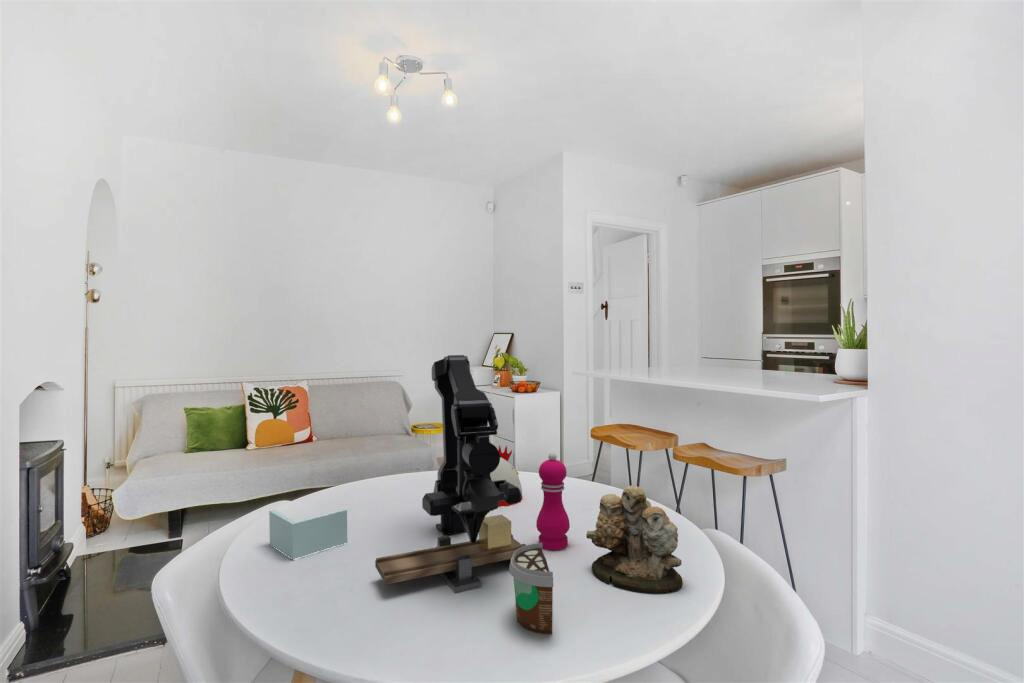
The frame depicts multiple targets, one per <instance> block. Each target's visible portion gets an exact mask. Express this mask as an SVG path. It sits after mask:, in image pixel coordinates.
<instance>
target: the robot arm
mask: <svg viewBox="0 0 1024 683" xmlns="http://www.w3.org/2000/svg"><path fill="white" fill-rule="evenodd" d="M470 364H471V363H470V360H469V358H468V356H467V355H464V354H458V355H457V354H456V355H455V354H454V355H451V354H450V355H447V356H444V358H442V359H439V360H437V361H435V362H433V364H432V366H431V380H432V381H433V382H434V389H435V391H436V392H437V394H438V395H439V397H440V398H441V413H442V414H441V415H442V416H441V417H442V443H443V444H442V448H443V462H442V463H441V466H440V467H439V468H438V471H437V479H436V480H435V482H434V488H433V492H427V493H425V494H424V495H423V497H422V499H421V500H422V503H421V505H422V506H421V507H422V509H423V510H424V511H425V512H426V513H427V514H428V515H429V516H431V517H436V516H437V517H438V516H440V523H436V524H435V527H436V528H437V529H438V530H439V531H440V532H441V533H442V535H444V536H449V535H452V534H458V533H459V534H460V533H463V532H466V534H467V536H468V538H469V541H471V542H472V543H475V542H476V540H478V537H479V531H480V528H481V525H482V522H483V520H484V518H485V517H487V515H488V514H489V513H490V512H493V511H494V510H497V509H499V507H498V506H499V501H503V500H504V501H505V502H506V503H507V504H513V503H517V504H519V503H521V502H522V501H521V491H520V489H519V488H518V487H516V486H514V485H513V484H511V483H509V482H507V481H506V480H498V481H492V480H491V477H490V473H491V472H493V471H494V470H495V469H496V468H497V467H498V465H499V462H500V454H499V448H497V446H496V445H495V444H493V443H492V442H491V441H490V436H497V435H498V429H499V428H498V427H499V423H498V420H497V419H498V418H497V414H496V410H495V408H494V407H493V404H492V403H491V402H490V400H489V399H488V396H487V395H486V393H485V392H484V391H481V390H479V389H478V388H477V386H476V384H475V381H474V378H473V375H472V373H471V365H470ZM488 425H489V426H488ZM494 445H495V446H494Z"/></svg>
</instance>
